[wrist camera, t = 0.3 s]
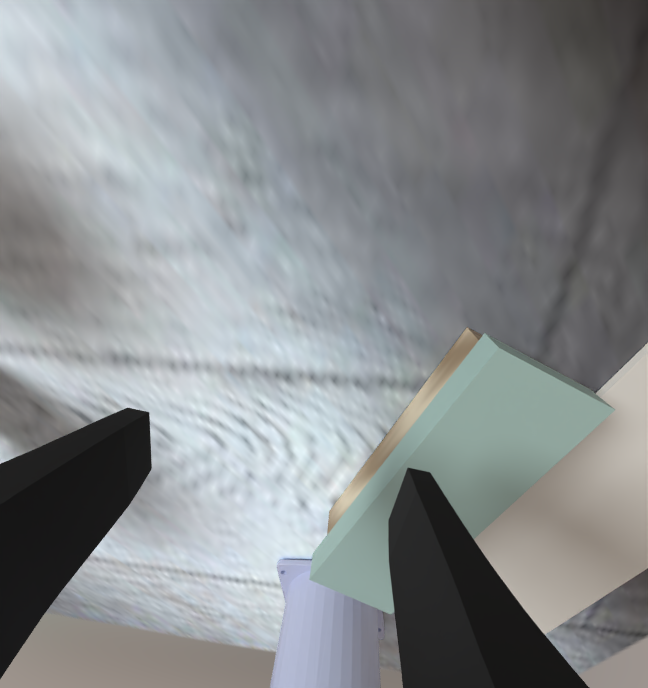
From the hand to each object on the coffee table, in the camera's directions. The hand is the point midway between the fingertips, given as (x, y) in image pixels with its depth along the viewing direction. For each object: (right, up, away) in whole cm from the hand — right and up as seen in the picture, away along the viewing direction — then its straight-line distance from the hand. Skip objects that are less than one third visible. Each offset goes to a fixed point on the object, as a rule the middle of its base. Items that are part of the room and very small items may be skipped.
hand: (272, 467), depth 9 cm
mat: (+18, -9, +13) cm, 24 cm away
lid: (+7, -4, +9) cm, 12 cm away
